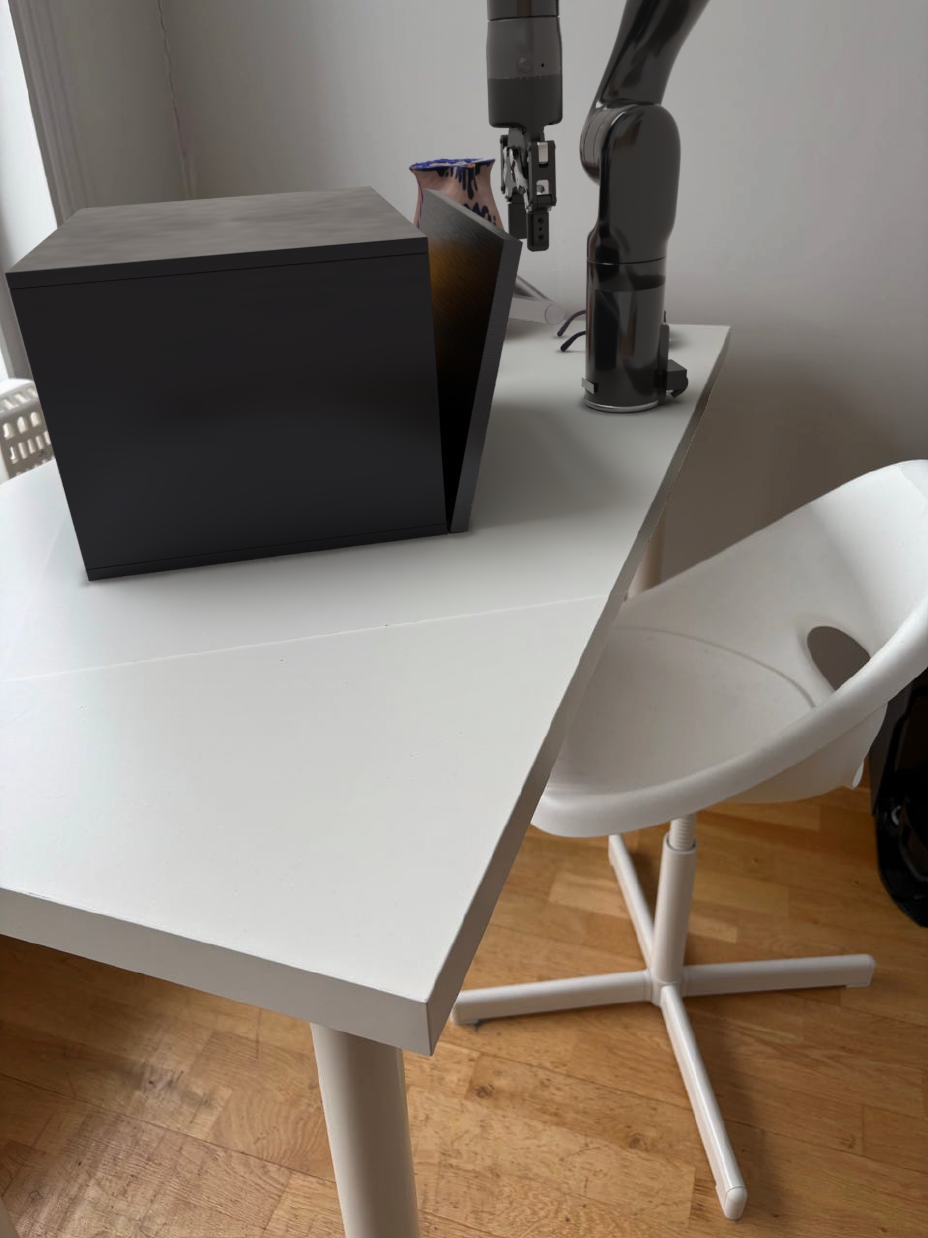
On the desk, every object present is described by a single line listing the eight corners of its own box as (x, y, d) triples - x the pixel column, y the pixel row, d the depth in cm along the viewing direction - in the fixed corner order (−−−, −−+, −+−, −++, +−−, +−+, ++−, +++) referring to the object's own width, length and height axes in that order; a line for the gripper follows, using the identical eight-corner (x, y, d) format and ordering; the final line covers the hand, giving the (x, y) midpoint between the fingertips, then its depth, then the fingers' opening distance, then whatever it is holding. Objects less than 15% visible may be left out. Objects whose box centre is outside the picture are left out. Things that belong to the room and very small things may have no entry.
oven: (390, 407, 124) (370, 185, 112) (447, 535, 90) (427, 236, 77) (132, 436, 120) (80, 208, 107) (88, 582, 86) (4, 272, 73)
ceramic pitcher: (439, 352, 147) (427, 169, 134) (383, 326, 163) (368, 161, 151) (539, 333, 153) (536, 158, 141) (475, 310, 170) (468, 151, 158)
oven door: (453, 412, 126) (491, 199, 115) (532, 539, 92) (597, 254, 81) (392, 405, 124) (424, 188, 113) (450, 531, 90) (504, 238, 78)
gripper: (581, 69, 91) (580, 252, 100) (543, 69, 104) (545, 232, 112) (503, 74, 90) (509, 258, 99) (473, 74, 103) (480, 237, 111)
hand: (528, 244), depth 105 cm, fingers open, 8 cm apart
